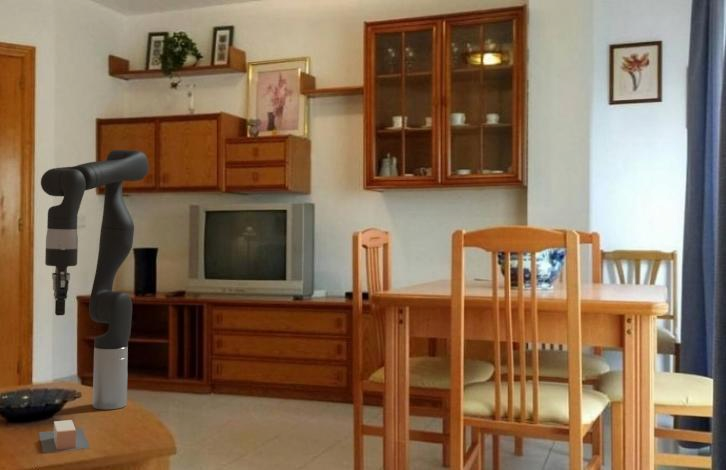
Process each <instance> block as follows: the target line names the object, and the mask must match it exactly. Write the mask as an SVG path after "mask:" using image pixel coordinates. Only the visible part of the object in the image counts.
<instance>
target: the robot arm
mask: <svg viewBox="0 0 726 470" xmlns="http://www.w3.org/2000/svg"><path fill="white" fill-rule="evenodd" d="M148 172H149V160H148V157H147V155H146V154H145V153H144V152H142V151H140V150H137V149H135V150H134V149H113V150H112V151H110V152H109V153H108V155H107V156H106V160H100V161H98V160H97V161H90V162H85V163H81V164H77V165H75V166H73V165H72V166H64V167H55V168H50V169H48V170H46V171H45V172H44V173H42V176H41V177H40V186H41V189H42V191H43V192H44V193H45V194H47V195H49V196H52V197H63V199H62V201H61V203H60V204H58V205H53V206H50V207H49V208H48V211H47V221H46V222H47V223H46V224H47V226H46V227H47V229H46V236H45V253H44V254H45V255H44V257H45V259H44V260H45V261H44V263H45V265H46V266H47V267H55V270H54V271H55V272H52V273H51V279H52V290H53V291H54V292H53V296H54V297H53V299H54V300H55V301H54V305H55V306H54V314H55V315H56V316H64V315H66V314H65V313H66V300H67V298H68V292H69V286H70V285H69V284H70V280H71V273H70V272H68V267H75V266H77V265H78V250H79V249H78V246H79V245H78V243H79V241H78V240H79V239H78V238H79V237H78V235H79V234H78V213H79V211H80V207H81V204H82V201H83V197H84V194H85V191H90V190H92V189H93V190H94V189H96V188H99V187H102V186H104V200H103V201H104V202H103V211H102V212H103V213H102V219H101V227H100V234H99V243H98V244H99V245H98V254H97V255H98V256H97V262H96V266H95V267H96V269H95V272H94V273H95V274H94V278H93V283H92V287H91V292H90V297H89V303H88V312H89V316H90V319H91V320H92V321H93V322H96V323H101V324H108V329H107V331H106V332H105V333H104V334H101V335H98V336H96V337H94V341H93V342H94V343H93V347H94V348H93V381H92V382H93V384H92V408H93V409H97V410H115V409H116V410H117V409H121V408H124V407H126V406H127V403H128V374H129V373H128V361H129V360H128V357H129V355H128V354H129V352H128V350H129V349H128V347H129V340H130V337H131V332H132V331H131V330H132V319H133V318H132V317H133V301H132V297H131V296H130V295H129V294H128V292H127V293H126V292H124V291H113V285H114V281H115V277H116V275H117V272H118V270H119V269H120V268H121V266H122V264H123V263H124V262H125V261H126V259H127V257H128V256H129V254H130V253H131V251H132V248H133V244H134V243H133V242H134V234H135V233H134V232H135V223H134V220H133V218H132V215H131V214H130V211H129V210H128V208H127V205H126V204H125V200H124V198H123V197H124V196H123V185H124V184H123V182H138V181H139V182H140V181H141V180H143V179H145V177H146V176H147V175H148Z"/></svg>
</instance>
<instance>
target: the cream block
mask: <svg viewBox="0 0 726 470" xmlns="http://www.w3.org/2000/svg"><path fill="white" fill-rule="evenodd" d="M76 429H77V428H76V427H75V424H74V422H73V419H67V420H58V421H57V420H55V421H53V431H54V441H55V445H56V449H57V450H61V449H70V448H76Z"/></svg>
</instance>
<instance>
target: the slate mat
mask: <svg viewBox="0 0 726 470" xmlns="http://www.w3.org/2000/svg"><path fill="white" fill-rule="evenodd" d="M75 429H76V448H70V449H61V450H57V449H56V445H55V441H54V430H50V431H49V430H48V431H46V430H45V431H38V436H39V440H40V444H41V445H40V446H41V450H42V453H43V454H51V453H52V454H53V453H57V452H58V453H59V452H68V451H77V450H78V451H79V450H87V449H91V446H90V444H89V442H88V439H87V436H86V435H85V432H84V429H83V427H79V428H75Z"/></svg>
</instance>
